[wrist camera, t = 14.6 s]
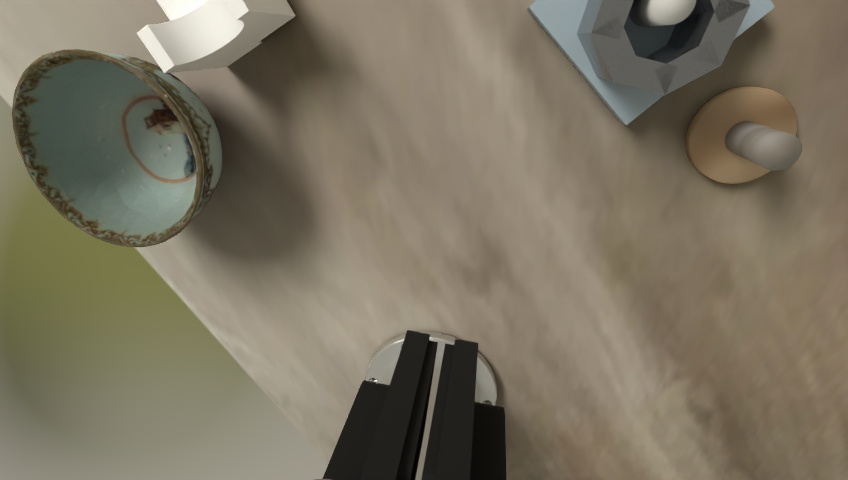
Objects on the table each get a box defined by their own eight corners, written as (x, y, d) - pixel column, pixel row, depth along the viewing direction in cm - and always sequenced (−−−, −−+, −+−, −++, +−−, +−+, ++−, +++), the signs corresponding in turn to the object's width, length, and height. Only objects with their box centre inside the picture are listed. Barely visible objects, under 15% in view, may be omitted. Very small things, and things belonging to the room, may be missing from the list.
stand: (807, 137, 31) (867, 155, 26) (718, 197, 33) (756, 224, 28) (755, 64, 30) (807, 69, 25) (666, 132, 32) (697, 149, 27)
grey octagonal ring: (720, 42, 28) (763, 43, 23) (608, 103, 30) (628, 114, 26) (678, -72, 26) (715, -95, 21) (562, 2, 28) (574, -5, 24)
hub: (757, 8, 29) (824, 0, 23) (619, 120, 32) (645, 138, 26) (662, -127, 27) (708, -174, 21) (527, 9, 30) (534, 1, 25)
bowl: (206, 18, 34) (127, 12, 27) (284, 185, 38) (235, 220, 31) (71, 80, 37) (-31, 90, 30) (157, 227, 42) (86, 266, 35)
